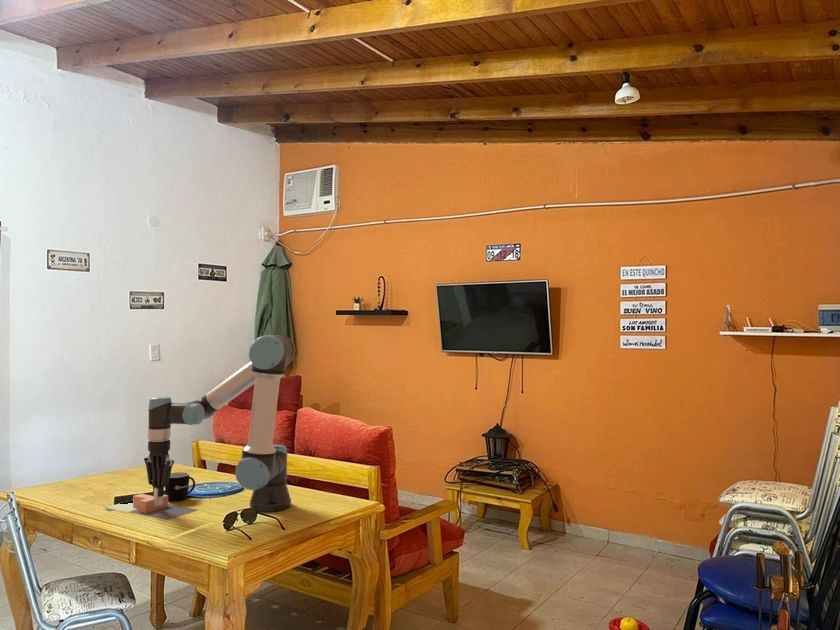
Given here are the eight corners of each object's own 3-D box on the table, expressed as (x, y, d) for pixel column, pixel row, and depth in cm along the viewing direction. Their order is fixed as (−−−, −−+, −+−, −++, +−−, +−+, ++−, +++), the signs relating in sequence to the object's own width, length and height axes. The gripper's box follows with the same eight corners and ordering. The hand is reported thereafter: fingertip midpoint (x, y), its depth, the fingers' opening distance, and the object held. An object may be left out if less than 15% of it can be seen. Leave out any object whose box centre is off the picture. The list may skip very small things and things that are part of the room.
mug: (171, 505, 241) (171, 478, 242) (159, 501, 247) (160, 474, 247) (200, 499, 250) (201, 473, 251) (188, 495, 256) (189, 469, 256)
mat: (198, 512, 234) (198, 509, 234) (167, 522, 221) (167, 520, 221) (137, 500, 248) (137, 498, 248) (105, 509, 236) (105, 507, 236)
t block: (168, 506, 238) (168, 495, 238) (145, 513, 229) (145, 501, 229) (148, 502, 243) (148, 491, 243) (125, 509, 234) (125, 497, 234)
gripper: (180, 439, 234) (179, 505, 233) (155, 436, 240) (154, 500, 239) (163, 443, 227) (162, 510, 227) (138, 439, 233) (136, 505, 233)
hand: (158, 505), depth 233 cm, fingers closed
